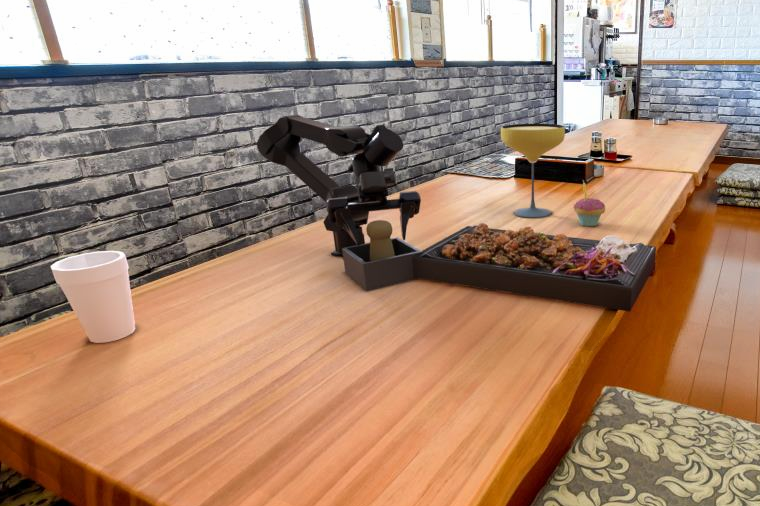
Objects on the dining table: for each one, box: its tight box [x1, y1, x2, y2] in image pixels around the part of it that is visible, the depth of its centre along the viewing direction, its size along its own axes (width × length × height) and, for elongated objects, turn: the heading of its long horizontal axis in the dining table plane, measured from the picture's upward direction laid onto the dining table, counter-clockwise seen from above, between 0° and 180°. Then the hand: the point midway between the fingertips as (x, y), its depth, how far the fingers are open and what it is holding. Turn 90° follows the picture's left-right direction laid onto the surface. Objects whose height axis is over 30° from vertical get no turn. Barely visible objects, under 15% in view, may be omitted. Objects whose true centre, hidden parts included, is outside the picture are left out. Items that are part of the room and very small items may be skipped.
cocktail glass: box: [500, 123, 566, 219], centre depth 153 cm, size 18×18×25 cm
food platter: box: [412, 222, 657, 313], centre depth 109 cm, size 45×25×10 cm, turn 66°
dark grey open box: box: [342, 236, 423, 292], centre depth 111 cm, size 13×13×6 cm
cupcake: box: [573, 179, 606, 227], centre depth 144 cm, size 9×8×12 cm
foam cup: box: [50, 250, 136, 344], centre depth 86 cm, size 10×9×13 cm
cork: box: [365, 219, 395, 261], centre depth 110 cm, size 6×6×11 cm
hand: (381, 241), depth 108 cm, fingers open, 9 cm apart
